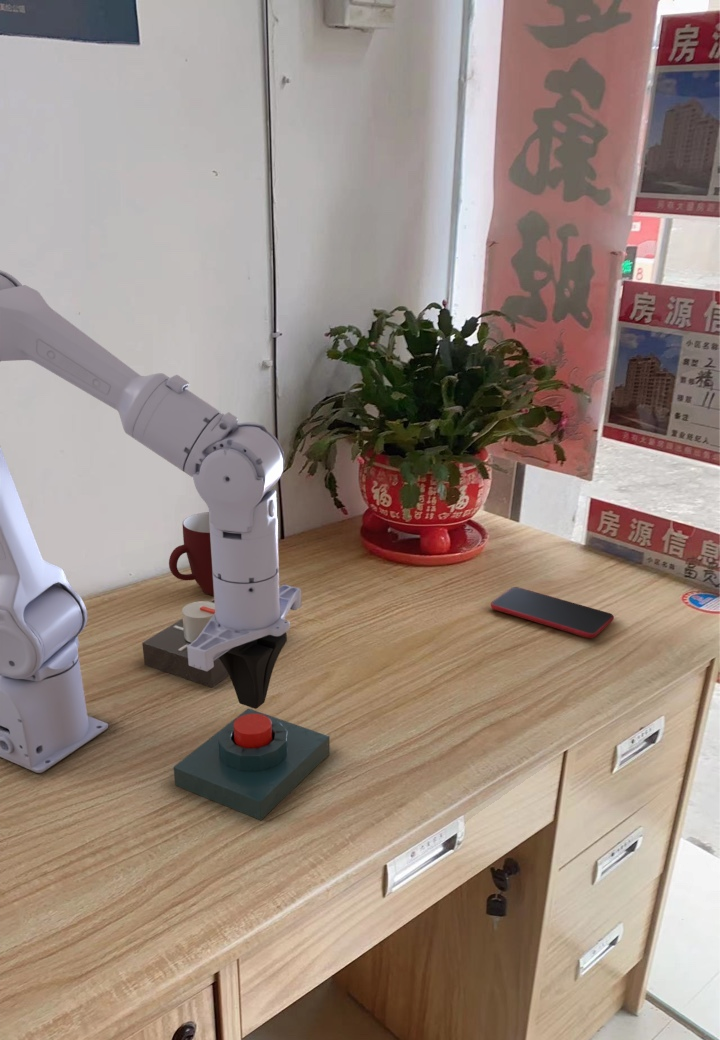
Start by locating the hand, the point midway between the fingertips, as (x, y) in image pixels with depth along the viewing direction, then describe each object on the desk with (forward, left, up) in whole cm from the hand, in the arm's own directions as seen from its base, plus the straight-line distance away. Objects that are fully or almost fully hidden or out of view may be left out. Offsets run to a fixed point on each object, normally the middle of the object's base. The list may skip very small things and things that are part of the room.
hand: (251, 702), depth 83 cm
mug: (+30, +29, -8) cm, 42 cm away
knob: (+15, +18, -5) cm, 24 cm away
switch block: (0, 0, -8) cm, 8 cm away
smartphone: (+48, -14, -8) cm, 51 cm away
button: (0, 0, -4) cm, 4 cm away
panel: (+17, +18, -8) cm, 26 cm away
